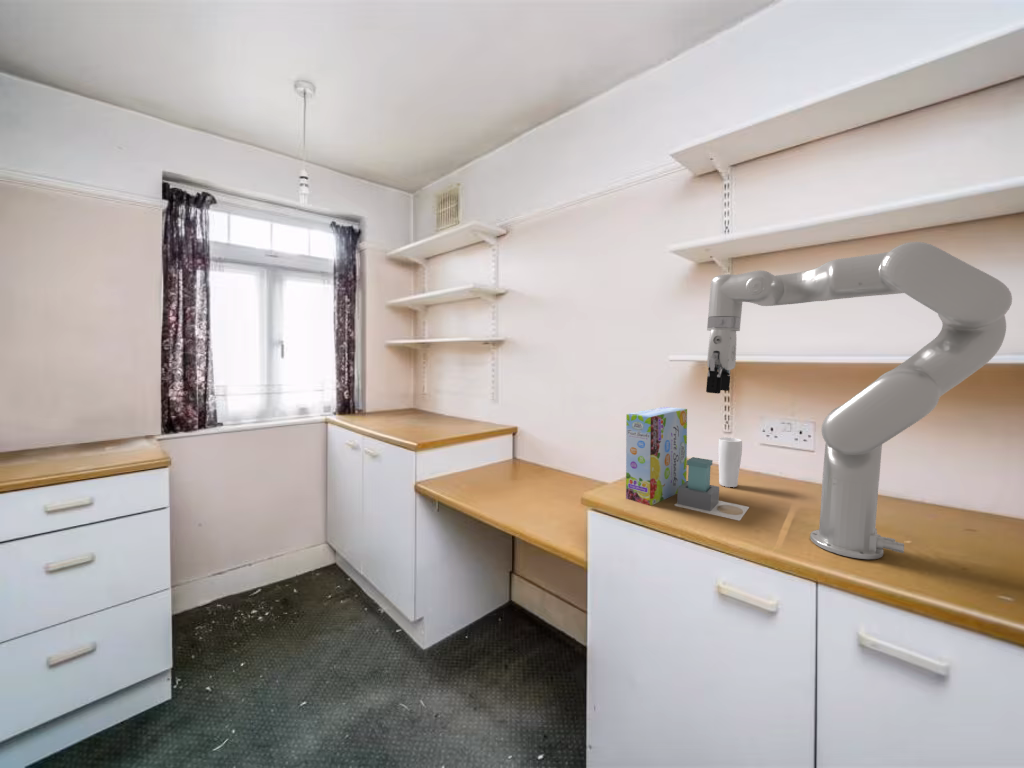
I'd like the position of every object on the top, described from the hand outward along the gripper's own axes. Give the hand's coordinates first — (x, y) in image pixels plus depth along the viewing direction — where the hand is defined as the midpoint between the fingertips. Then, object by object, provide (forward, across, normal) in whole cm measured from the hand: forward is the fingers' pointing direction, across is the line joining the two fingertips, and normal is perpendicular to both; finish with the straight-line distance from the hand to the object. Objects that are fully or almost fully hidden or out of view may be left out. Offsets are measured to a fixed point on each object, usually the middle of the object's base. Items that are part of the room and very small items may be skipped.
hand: (717, 391), depth 109 cm
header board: (+32, +2, 0) cm, 33 cm away
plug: (+32, +3, +3) cm, 32 cm away
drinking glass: (+33, +29, +1) cm, 44 cm away
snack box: (+33, +3, +15) cm, 37 cm away
